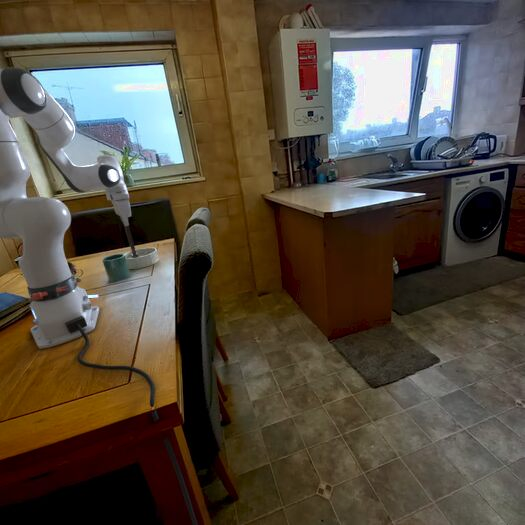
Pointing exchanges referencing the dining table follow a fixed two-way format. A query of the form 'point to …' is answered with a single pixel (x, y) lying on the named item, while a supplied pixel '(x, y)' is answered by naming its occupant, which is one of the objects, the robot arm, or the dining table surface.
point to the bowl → (142, 258)
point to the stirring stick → (131, 242)
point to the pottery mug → (71, 267)
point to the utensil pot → (116, 267)
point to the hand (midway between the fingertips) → (126, 225)
